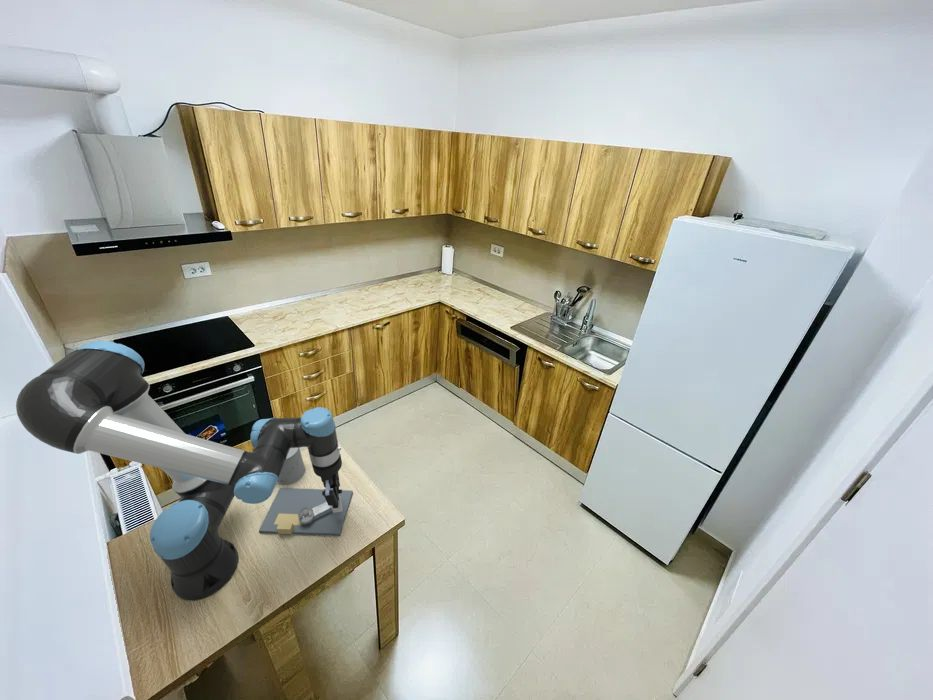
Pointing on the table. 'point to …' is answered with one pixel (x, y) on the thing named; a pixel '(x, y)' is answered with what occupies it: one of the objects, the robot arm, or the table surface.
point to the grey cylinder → (292, 468)
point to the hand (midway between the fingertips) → (337, 510)
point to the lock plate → (306, 501)
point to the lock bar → (314, 514)
